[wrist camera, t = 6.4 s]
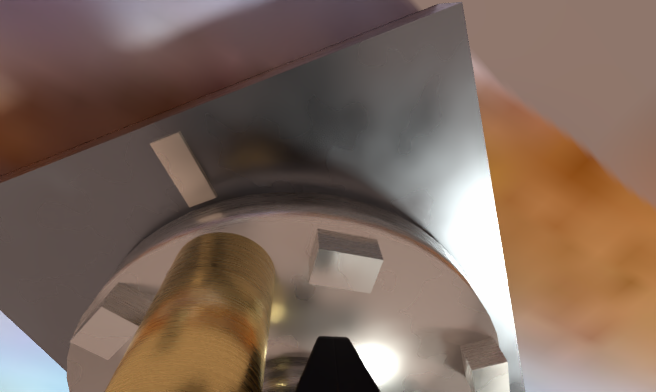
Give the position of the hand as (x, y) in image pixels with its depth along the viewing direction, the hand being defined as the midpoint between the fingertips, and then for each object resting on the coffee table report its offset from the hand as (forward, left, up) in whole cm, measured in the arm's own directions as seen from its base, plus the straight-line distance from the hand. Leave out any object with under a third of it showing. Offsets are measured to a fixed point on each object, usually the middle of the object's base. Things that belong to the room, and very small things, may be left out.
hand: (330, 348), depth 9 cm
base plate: (-5, +3, -7) cm, 9 cm away
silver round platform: (-5, +3, -5) cm, 8 cm away
